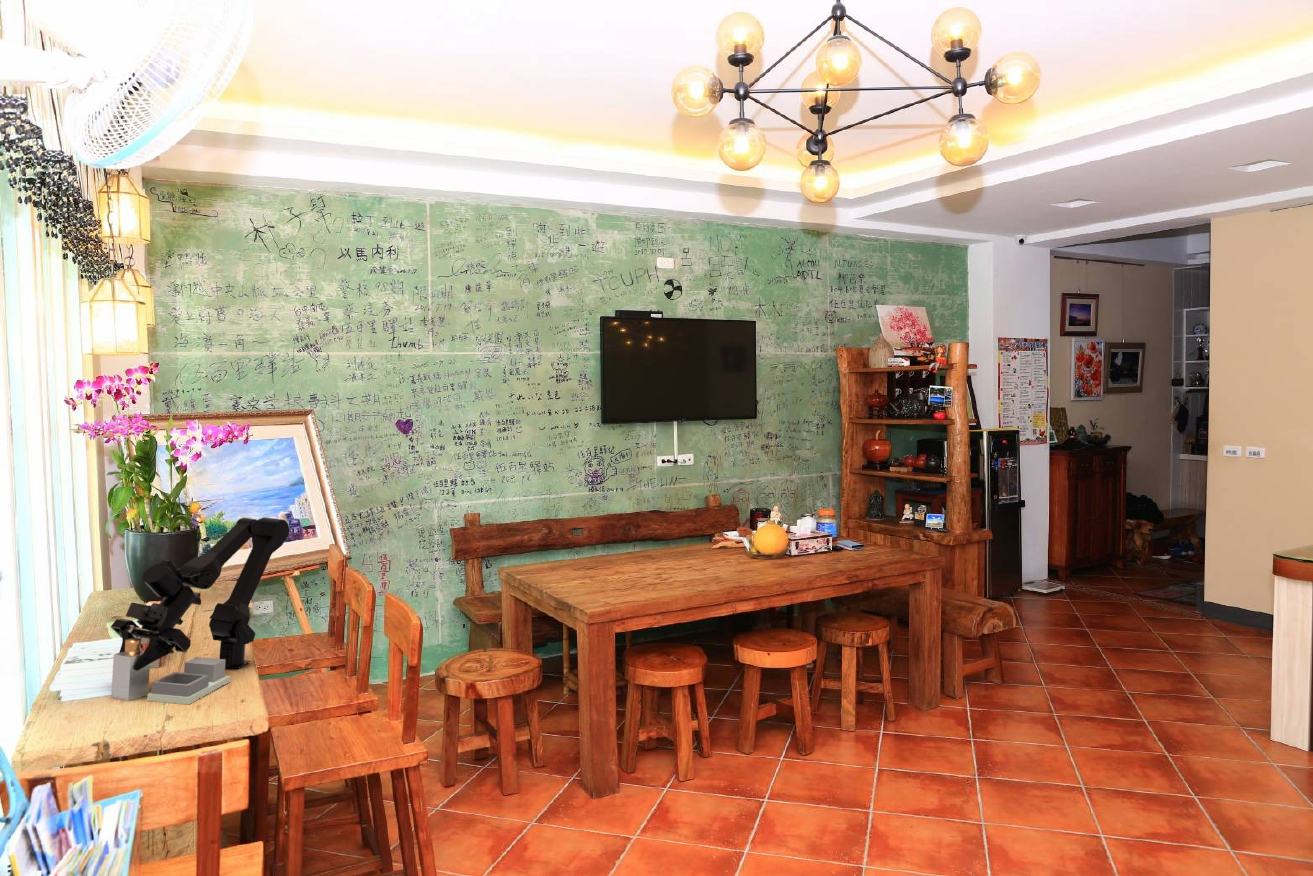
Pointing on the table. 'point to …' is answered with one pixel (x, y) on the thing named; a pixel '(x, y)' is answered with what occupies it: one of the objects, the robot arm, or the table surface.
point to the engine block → (129, 673)
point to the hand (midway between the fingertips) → (125, 667)
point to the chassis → (190, 682)
